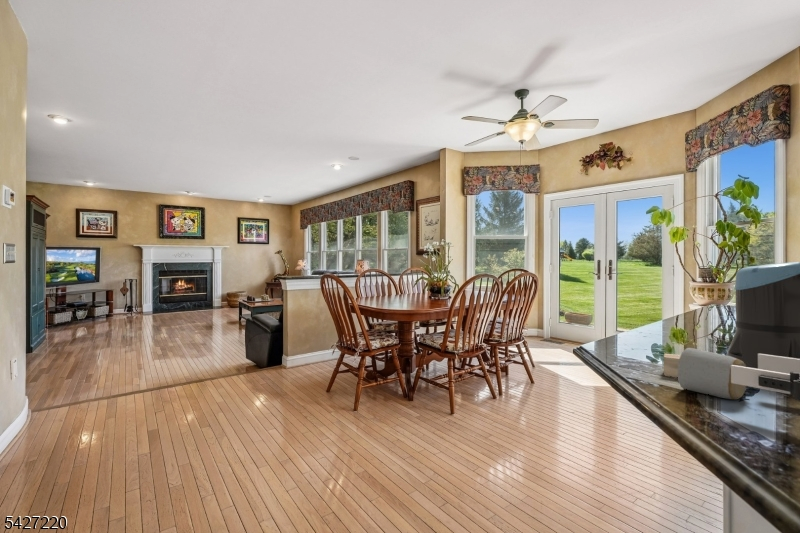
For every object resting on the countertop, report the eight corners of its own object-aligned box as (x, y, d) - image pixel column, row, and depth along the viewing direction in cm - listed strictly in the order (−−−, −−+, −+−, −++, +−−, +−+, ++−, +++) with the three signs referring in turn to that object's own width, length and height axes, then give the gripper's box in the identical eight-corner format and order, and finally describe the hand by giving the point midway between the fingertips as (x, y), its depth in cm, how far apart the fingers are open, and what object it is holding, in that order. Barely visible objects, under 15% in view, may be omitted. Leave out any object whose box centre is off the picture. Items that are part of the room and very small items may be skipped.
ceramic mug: (734, 405, 61) (734, 358, 61) (676, 391, 68) (676, 349, 68) (756, 394, 66) (756, 351, 67) (700, 383, 73) (700, 343, 74)
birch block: (664, 371, 81) (664, 353, 81) (688, 374, 79) (687, 355, 79) (664, 376, 78) (663, 356, 78) (688, 379, 76) (687, 359, 76)
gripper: (986, 468, 37) (719, 405, 55) (980, 413, 51) (768, 377, 69) (984, 393, 38) (718, 354, 55) (979, 358, 51) (767, 336, 69)
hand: (745, 367), depth 62 cm, fingers open, 13 cm apart
